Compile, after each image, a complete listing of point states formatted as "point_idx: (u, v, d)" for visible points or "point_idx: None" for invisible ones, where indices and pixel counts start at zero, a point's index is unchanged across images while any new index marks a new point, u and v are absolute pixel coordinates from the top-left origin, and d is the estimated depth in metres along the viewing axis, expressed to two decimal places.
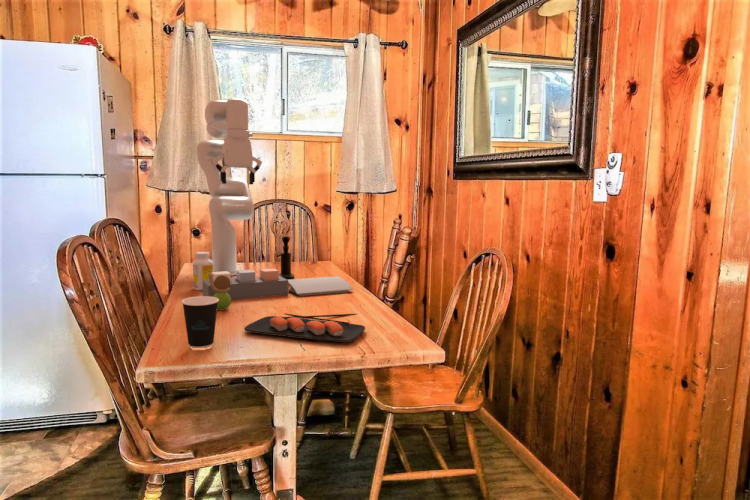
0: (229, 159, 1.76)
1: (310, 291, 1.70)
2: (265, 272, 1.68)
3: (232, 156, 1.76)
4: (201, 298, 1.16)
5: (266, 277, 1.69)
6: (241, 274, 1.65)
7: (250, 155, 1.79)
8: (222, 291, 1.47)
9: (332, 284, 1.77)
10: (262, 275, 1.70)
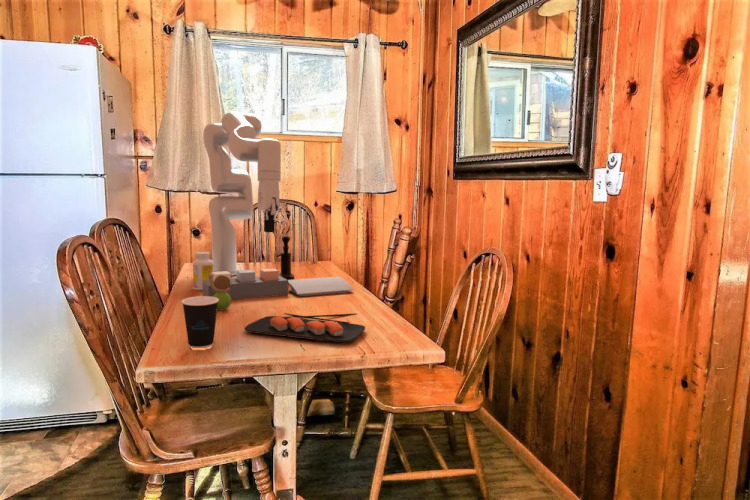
0: None
1: (311, 291, 1.70)
2: (265, 272, 1.68)
3: None
4: (201, 298, 1.16)
5: (266, 277, 1.69)
6: (241, 274, 1.65)
7: None
8: (222, 291, 1.47)
9: (333, 285, 1.77)
10: (262, 275, 1.70)
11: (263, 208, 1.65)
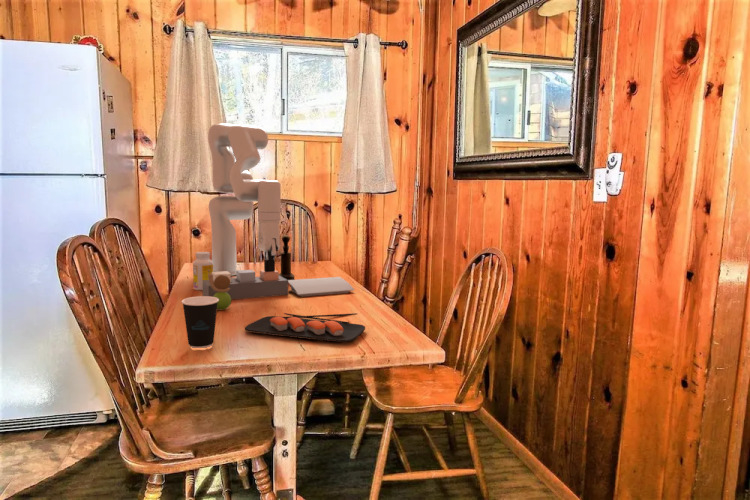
0: None
1: (311, 292, 1.69)
2: (265, 273, 1.68)
3: None
4: (201, 298, 1.16)
5: (266, 278, 1.69)
6: (241, 274, 1.65)
7: None
8: (222, 291, 1.47)
9: (333, 285, 1.76)
10: (262, 276, 1.70)
11: (263, 249, 1.67)
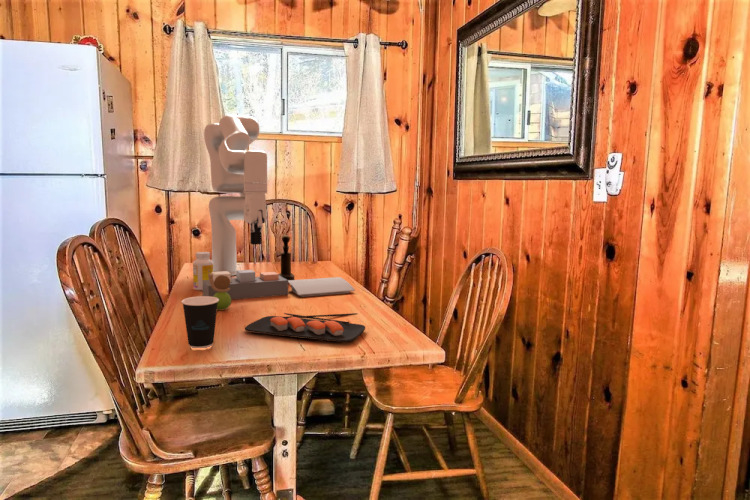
0: None
1: (311, 292, 1.69)
2: (265, 275, 1.69)
3: None
4: (201, 298, 1.16)
5: (266, 280, 1.69)
6: (241, 274, 1.65)
7: None
8: (222, 291, 1.47)
9: (334, 285, 1.76)
10: (262, 279, 1.70)
11: (249, 220, 1.63)
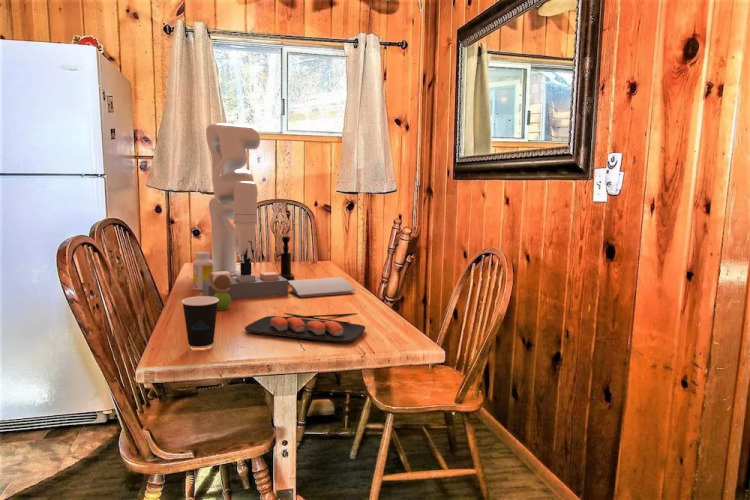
0: None
1: (312, 292, 1.68)
2: (265, 275, 1.69)
3: None
4: (201, 298, 1.16)
5: (266, 280, 1.69)
6: (241, 277, 1.65)
7: None
8: (222, 291, 1.47)
9: (334, 285, 1.75)
10: (262, 279, 1.70)
11: (239, 252, 1.63)
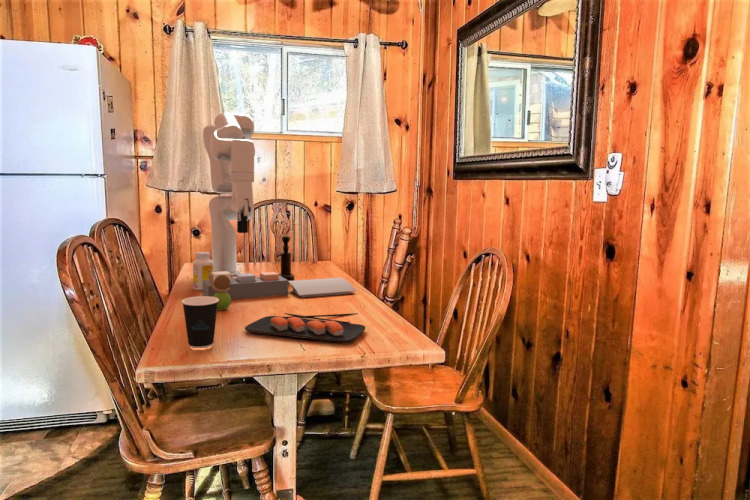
0: None
1: (312, 292, 1.68)
2: (265, 275, 1.69)
3: None
4: (201, 298, 1.16)
5: (266, 280, 1.69)
6: (241, 278, 1.65)
7: None
8: (222, 291, 1.47)
9: (335, 286, 1.75)
10: (262, 279, 1.70)
11: (236, 209, 1.65)
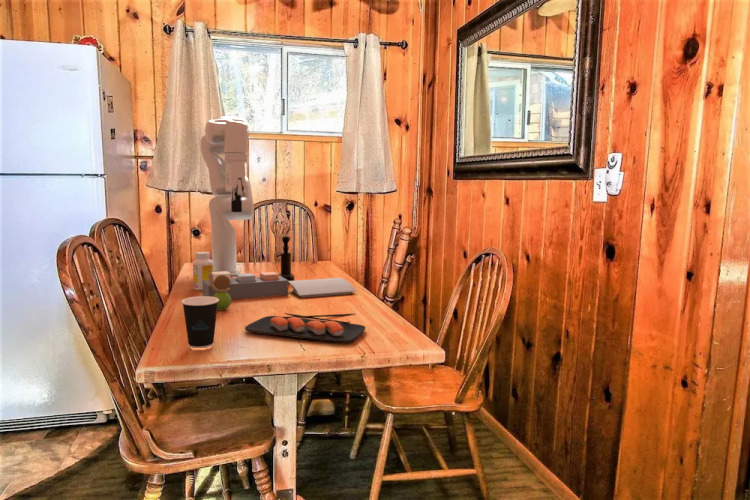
0: None
1: (312, 293, 1.68)
2: (265, 275, 1.69)
3: None
4: (201, 298, 1.16)
5: (266, 280, 1.69)
6: (241, 278, 1.65)
7: None
8: (222, 291, 1.47)
9: (335, 286, 1.75)
10: (262, 279, 1.70)
11: (230, 188, 1.71)
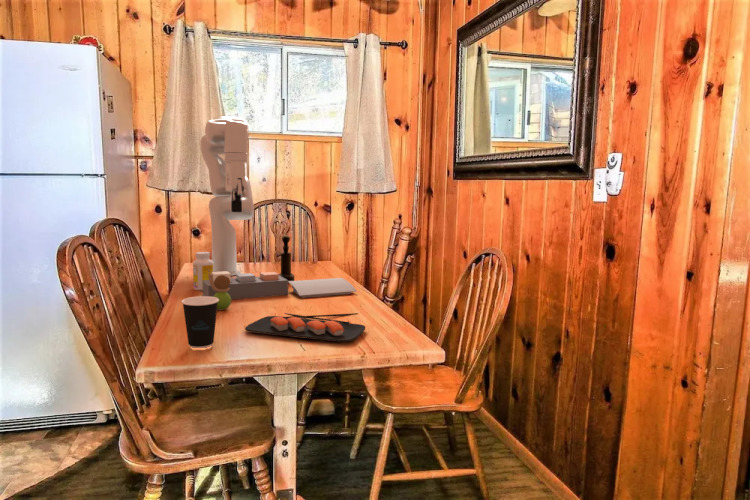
0: None
1: (313, 293, 1.67)
2: (265, 275, 1.69)
3: None
4: (201, 298, 1.16)
5: (266, 280, 1.69)
6: (241, 278, 1.65)
7: None
8: (222, 291, 1.47)
9: (336, 286, 1.74)
10: (262, 279, 1.70)
11: (230, 188, 1.71)
